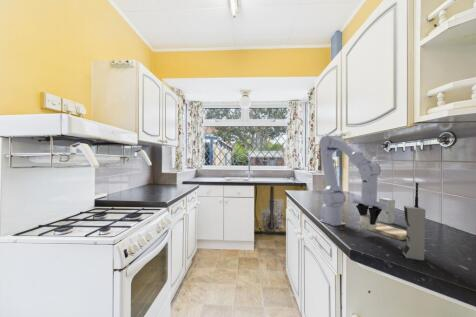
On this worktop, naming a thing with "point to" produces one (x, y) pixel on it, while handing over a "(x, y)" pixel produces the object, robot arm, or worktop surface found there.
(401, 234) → the birch board
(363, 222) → the capped bottle
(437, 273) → the worktop surface
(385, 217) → the skincare box
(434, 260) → the worktop surface
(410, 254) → the vintage mobile phone
